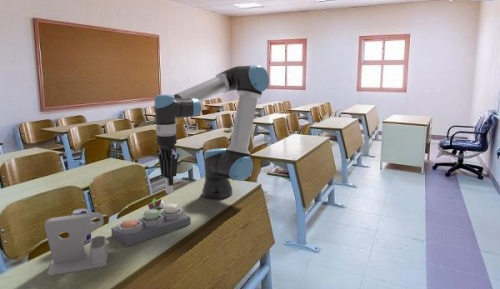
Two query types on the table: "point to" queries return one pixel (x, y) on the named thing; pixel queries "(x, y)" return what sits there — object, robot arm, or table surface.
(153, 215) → the sage button
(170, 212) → the cream button
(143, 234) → the button board
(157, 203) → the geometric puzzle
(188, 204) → the table surface
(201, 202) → the table surface
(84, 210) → the energy drink
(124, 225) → the terracotta button
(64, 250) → the phone holder
